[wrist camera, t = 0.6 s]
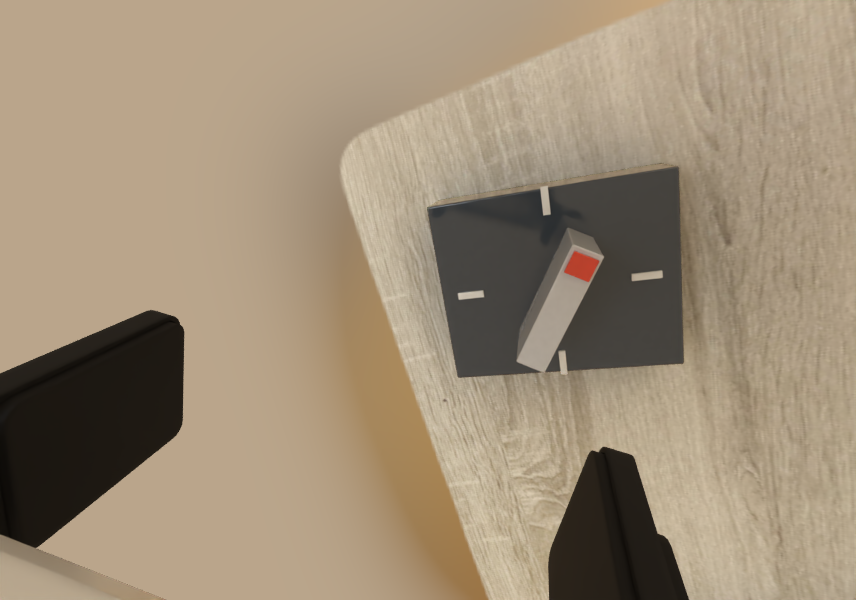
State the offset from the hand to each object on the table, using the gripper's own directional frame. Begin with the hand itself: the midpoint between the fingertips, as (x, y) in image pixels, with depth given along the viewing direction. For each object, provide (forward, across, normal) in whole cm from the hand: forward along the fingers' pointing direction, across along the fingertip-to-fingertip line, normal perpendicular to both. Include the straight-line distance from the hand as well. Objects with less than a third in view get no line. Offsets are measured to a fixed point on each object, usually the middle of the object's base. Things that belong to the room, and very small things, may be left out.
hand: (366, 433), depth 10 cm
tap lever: (+16, -5, 0) cm, 16 cm away
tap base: (+19, -5, 0) cm, 19 cm away
